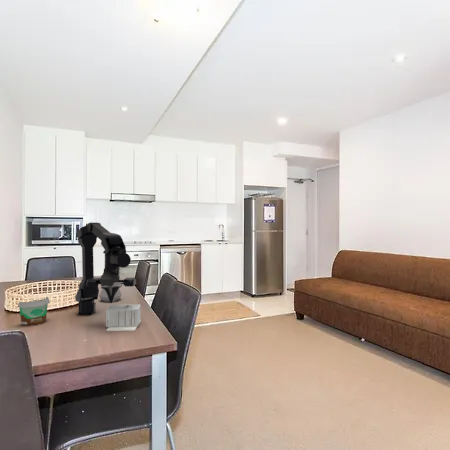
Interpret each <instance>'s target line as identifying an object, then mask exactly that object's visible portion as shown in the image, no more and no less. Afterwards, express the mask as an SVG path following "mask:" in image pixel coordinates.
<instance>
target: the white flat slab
mask: <svg viewBox="0 0 450 450" xmlns="http://www.w3.org/2000/svg"><path fill="white" fill-rule="evenodd" d="M141 322H142V319H140V322H139V324H138V326H139V325H140V323H141ZM138 326H122V327H107V329H106V332H135V331H136V330H137V328H138Z"/></svg>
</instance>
